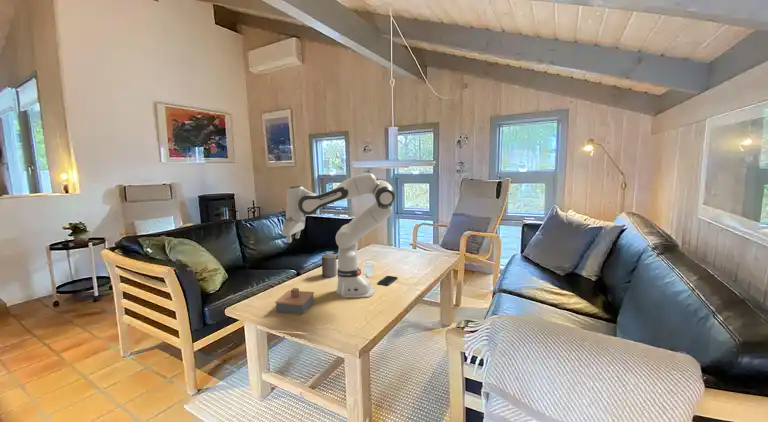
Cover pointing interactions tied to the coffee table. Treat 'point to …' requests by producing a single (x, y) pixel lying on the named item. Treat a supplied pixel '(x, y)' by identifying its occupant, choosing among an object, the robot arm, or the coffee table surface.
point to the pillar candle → (329, 265)
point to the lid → (294, 297)
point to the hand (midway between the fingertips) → (293, 240)
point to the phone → (387, 280)
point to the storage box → (294, 307)
